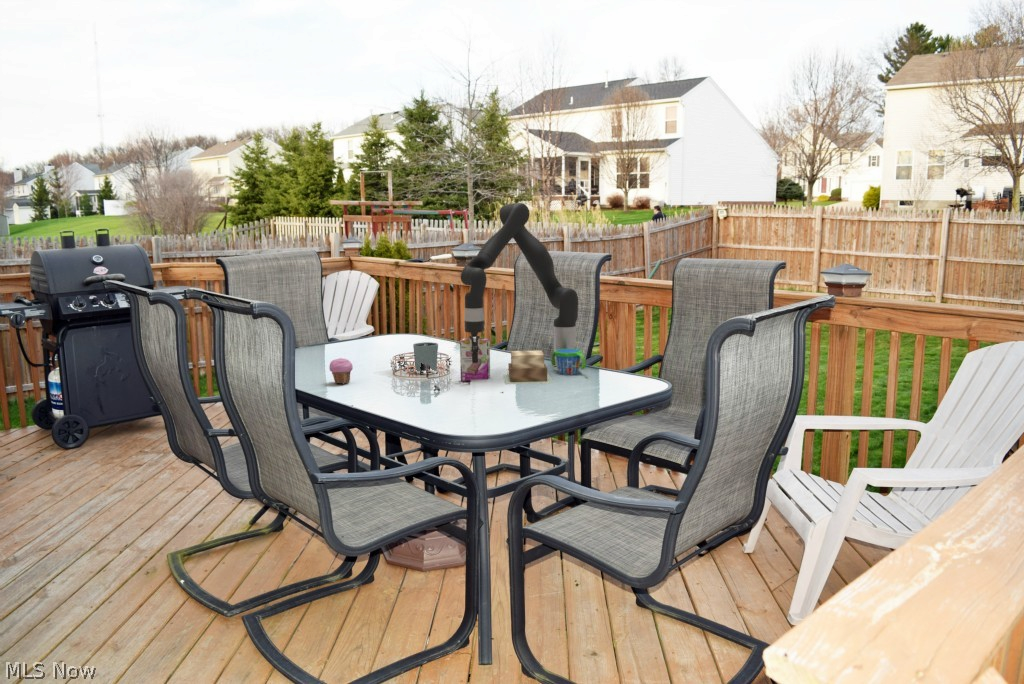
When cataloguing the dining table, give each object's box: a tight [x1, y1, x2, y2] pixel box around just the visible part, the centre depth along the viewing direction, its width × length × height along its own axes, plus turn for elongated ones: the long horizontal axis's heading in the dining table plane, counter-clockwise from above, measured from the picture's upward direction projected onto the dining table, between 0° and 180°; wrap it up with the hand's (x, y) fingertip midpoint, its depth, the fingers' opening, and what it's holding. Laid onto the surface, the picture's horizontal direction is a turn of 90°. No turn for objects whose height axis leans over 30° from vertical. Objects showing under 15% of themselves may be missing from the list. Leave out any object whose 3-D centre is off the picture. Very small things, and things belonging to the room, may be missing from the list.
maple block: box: [510, 349, 545, 369], centre depth 301 cm, size 12×10×5 cm
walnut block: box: [508, 362, 548, 382], centre depth 301 cm, size 14×12×5 cm
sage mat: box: [502, 372, 554, 385], centre depth 302 cm, size 18×18×1 cm
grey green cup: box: [412, 341, 439, 371], centre depth 322 cm, size 10×10×12 cm
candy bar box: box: [459, 338, 491, 383], centre depth 304 cm, size 11×5×16 cm, turn 84°
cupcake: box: [329, 357, 354, 384], centre depth 303 cm, size 9×9×10 cm
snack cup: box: [550, 348, 587, 376], centre depth 311 cm, size 16×10×10 cm
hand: (474, 360), depth 304 cm, fingers open, 8 cm apart
